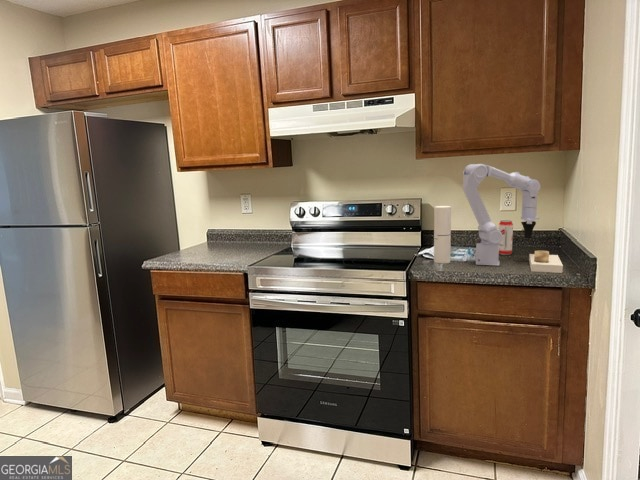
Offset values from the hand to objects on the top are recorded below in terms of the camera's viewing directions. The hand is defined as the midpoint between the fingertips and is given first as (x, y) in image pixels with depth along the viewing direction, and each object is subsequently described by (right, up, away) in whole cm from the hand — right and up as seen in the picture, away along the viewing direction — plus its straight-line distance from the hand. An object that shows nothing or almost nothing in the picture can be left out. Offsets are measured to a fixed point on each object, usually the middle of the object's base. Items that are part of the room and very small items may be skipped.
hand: (527, 238), depth 188 cm
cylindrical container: (-35, -11, +8) cm, 38 cm away
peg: (0, -12, -11) cm, 17 cm away
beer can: (-2, -8, +18) cm, 20 cm away
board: (+3, -12, -8) cm, 15 cm away
